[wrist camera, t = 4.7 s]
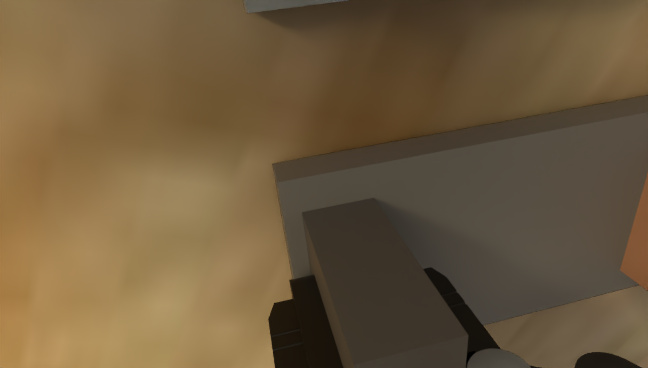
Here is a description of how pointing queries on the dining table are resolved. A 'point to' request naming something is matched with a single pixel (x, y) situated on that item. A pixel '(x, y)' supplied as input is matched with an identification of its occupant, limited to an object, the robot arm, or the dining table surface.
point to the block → (638, 244)
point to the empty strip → (279, 4)
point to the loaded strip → (464, 227)
